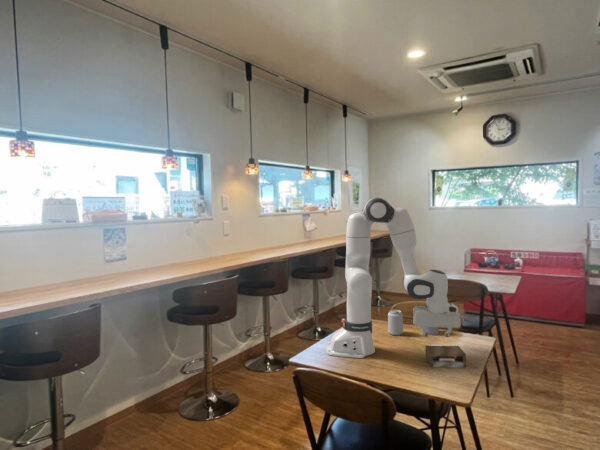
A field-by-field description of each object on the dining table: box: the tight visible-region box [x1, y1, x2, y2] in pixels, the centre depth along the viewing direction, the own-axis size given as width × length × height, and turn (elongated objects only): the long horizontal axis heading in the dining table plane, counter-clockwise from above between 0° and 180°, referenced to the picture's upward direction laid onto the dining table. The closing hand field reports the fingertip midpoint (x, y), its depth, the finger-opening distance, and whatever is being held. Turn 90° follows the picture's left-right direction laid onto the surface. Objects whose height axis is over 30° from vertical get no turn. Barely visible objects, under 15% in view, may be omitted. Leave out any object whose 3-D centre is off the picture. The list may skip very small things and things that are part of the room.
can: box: [387, 309, 404, 337], centre depth 198 cm, size 8×8×12 cm
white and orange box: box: [429, 344, 456, 361], centre depth 165 cm, size 6×16×3 cm, turn 174°
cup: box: [421, 327, 440, 336], centre depth 198 cm, size 8×8×10 cm
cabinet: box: [424, 345, 467, 369], centre depth 160 cm, size 14×10×6 cm
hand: (436, 336), depth 171 cm, fingers open, 8 cm apart
